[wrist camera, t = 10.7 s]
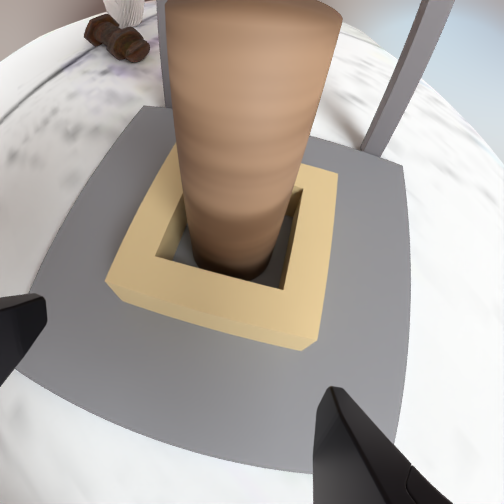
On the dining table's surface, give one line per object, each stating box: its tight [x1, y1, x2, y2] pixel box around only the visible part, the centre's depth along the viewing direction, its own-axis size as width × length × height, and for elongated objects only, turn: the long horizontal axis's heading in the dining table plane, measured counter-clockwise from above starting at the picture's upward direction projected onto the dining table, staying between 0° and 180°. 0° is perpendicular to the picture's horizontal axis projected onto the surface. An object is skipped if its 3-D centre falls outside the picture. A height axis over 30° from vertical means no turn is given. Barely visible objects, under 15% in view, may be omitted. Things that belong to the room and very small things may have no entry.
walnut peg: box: [165, 0, 342, 281], centre depth 12 cm, size 5×5×14 cm
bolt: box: [84, 14, 150, 62], centre depth 30 cm, size 6×5×15 cm
